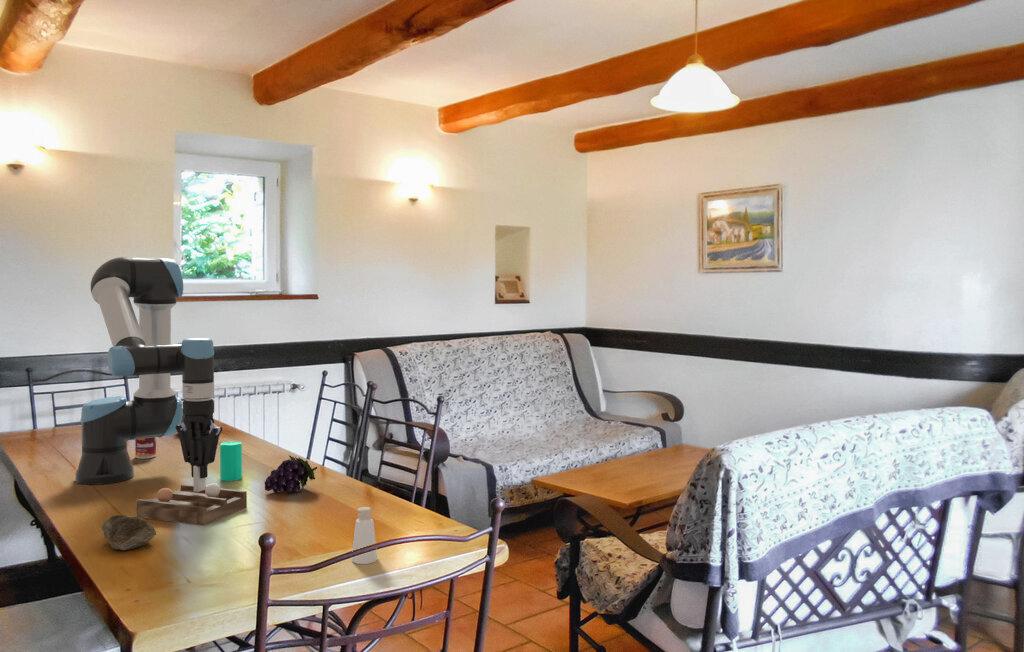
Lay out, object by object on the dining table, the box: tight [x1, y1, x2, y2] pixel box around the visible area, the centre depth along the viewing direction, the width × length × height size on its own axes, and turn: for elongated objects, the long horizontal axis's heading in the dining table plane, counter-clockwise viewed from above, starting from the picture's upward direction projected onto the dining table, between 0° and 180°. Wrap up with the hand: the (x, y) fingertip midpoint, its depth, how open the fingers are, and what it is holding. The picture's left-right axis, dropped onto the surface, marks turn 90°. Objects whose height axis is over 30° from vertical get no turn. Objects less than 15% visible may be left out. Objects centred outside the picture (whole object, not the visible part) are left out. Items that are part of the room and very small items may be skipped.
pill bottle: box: [134, 437, 157, 460], centre depth 254 cm, size 6×6×11 cm
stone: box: [100, 514, 157, 552], centre depth 170 cm, size 13×8×8 cm
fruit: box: [264, 454, 318, 494], centre depth 214 cm, size 10×11×15 cm
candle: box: [219, 440, 243, 482], centre depth 227 cm, size 6×6×12 cm
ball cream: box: [205, 482, 221, 497], centre depth 197 cm, size 4×4×4 cm
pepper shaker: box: [351, 506, 378, 565], centre depth 162 cm, size 5×5×11 cm
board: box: [135, 483, 248, 527], centre depth 194 cm, size 20×16×4 cm
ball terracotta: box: [156, 487, 173, 502], centre depth 192 cm, size 4×4×4 cm
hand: (199, 490), depth 198 cm, fingers closed
